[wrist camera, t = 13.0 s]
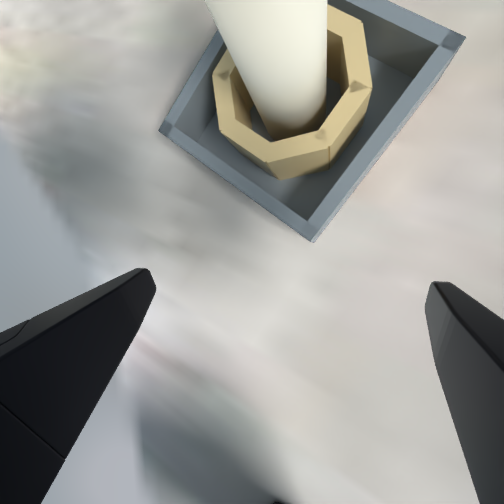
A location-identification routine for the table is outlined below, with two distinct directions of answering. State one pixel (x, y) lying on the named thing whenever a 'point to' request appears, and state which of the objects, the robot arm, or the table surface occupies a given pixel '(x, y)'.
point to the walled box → (337, 112)
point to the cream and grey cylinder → (279, 59)
